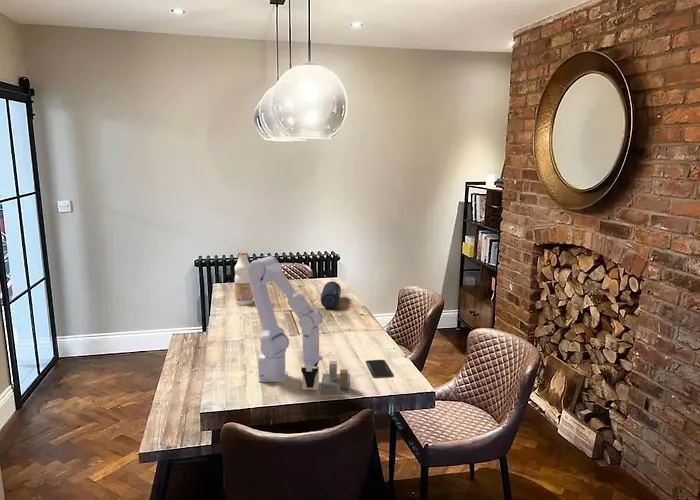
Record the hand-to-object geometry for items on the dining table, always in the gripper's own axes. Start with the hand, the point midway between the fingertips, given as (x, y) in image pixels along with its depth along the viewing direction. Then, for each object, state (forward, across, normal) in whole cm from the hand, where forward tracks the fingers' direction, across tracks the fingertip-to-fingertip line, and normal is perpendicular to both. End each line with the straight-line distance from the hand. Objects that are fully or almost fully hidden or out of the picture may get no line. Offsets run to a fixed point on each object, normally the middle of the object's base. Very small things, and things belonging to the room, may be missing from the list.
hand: (311, 382), depth 175 cm
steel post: (+1, +6, -7) cm, 9 cm away
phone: (+2, +15, -24) cm, 29 cm away
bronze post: (+2, -2, -11) cm, 12 cm away
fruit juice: (+2, +97, +45) cm, 107 cm away
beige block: (+2, 0, 0) cm, 2 cm away
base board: (+2, +2, -8) cm, 9 cm away
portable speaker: (+2, +99, -2) cm, 99 cm away
